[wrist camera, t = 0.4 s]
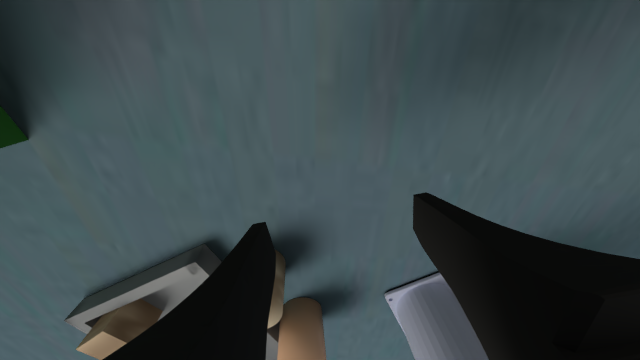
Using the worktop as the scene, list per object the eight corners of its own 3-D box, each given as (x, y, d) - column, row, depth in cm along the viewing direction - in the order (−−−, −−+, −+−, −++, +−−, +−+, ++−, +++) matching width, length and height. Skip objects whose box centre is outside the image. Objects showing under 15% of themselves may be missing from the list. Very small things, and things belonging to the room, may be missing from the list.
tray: (307, 352, 33) (308, 372, 31) (214, 386, 35) (208, 407, 33) (204, 243, 24) (195, 261, 21) (83, 298, 26) (64, 320, 23)
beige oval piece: (294, 270, 26) (292, 318, 21) (254, 286, 27) (244, 337, 22) (270, 239, 24) (263, 285, 19) (227, 257, 25) (210, 306, 20)
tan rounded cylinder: (328, 315, 30) (335, 376, 24) (292, 328, 31) (291, 391, 25) (310, 292, 28) (313, 352, 22) (272, 306, 29) (266, 369, 23)
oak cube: (162, 311, 27) (141, 349, 23) (139, 326, 27) (115, 366, 24) (130, 292, 25) (102, 331, 21) (106, 309, 26) (75, 349, 22)
